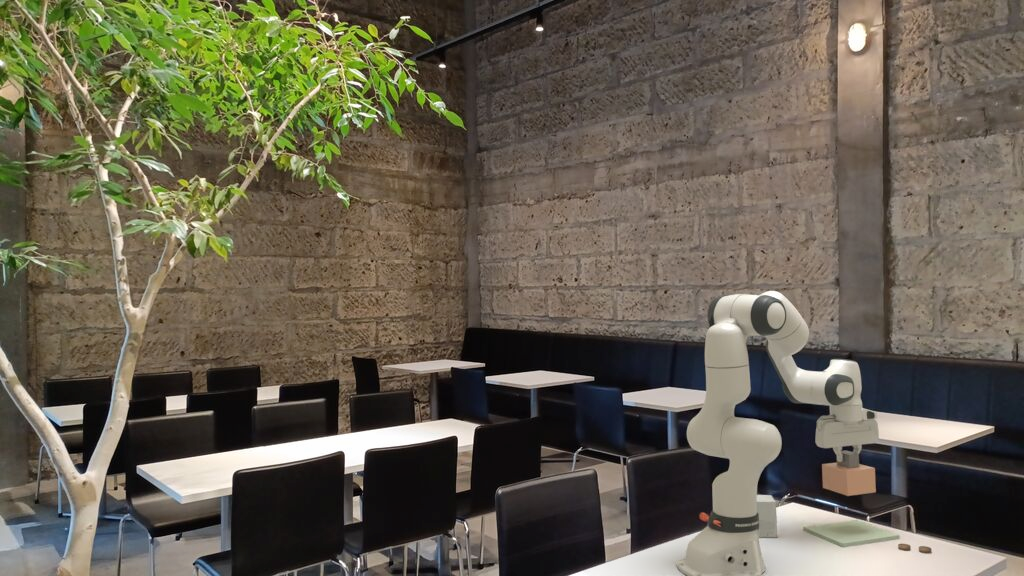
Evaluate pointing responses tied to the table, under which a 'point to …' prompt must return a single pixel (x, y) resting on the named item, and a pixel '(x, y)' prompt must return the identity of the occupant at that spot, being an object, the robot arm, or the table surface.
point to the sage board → (851, 533)
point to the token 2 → (925, 549)
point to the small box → (767, 516)
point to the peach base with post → (849, 476)
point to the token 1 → (904, 547)
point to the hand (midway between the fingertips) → (847, 460)
